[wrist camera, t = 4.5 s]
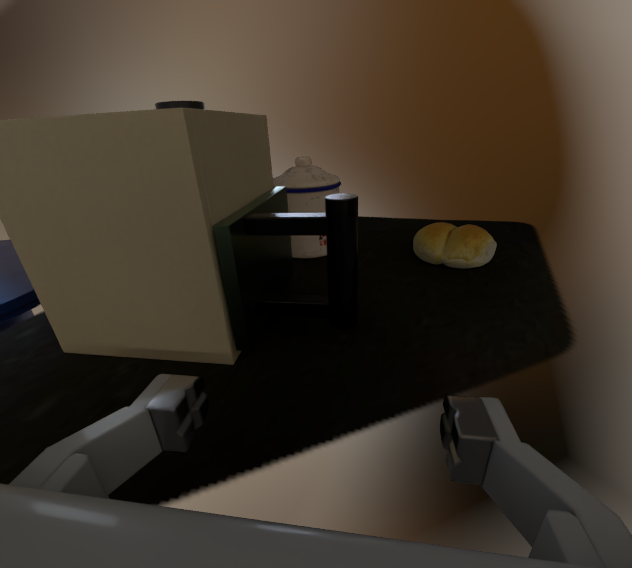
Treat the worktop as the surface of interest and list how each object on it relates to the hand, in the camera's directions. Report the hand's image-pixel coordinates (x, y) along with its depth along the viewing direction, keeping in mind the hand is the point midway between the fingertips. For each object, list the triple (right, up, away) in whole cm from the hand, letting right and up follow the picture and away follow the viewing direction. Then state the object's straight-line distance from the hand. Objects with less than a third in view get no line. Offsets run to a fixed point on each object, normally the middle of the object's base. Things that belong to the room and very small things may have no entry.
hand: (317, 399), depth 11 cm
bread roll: (+16, +7, +28) cm, 34 cm away
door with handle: (-7, +2, +18) cm, 19 cm away
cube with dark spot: (-12, +1, +19) cm, 23 cm away
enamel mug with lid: (-1, +9, +35) cm, 36 cm away
